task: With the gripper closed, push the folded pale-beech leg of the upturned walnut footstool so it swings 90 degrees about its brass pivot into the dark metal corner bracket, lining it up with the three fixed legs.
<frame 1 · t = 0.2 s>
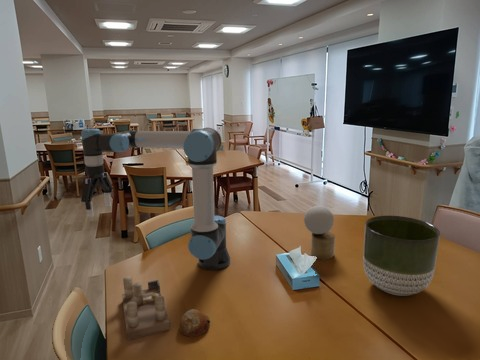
hand: (99, 211, 155), 28 cm above the table, fingers open, 13 cm apart
stool seat: (144, 314, 126), on the table
hinged leg: (146, 292, 128), point 7 cm above the table, hinge at 90.0°
lamp: (318, 254, 173), on the table
planter: (394, 288, 141), on the table
bread roll: (195, 328, 119), on the table
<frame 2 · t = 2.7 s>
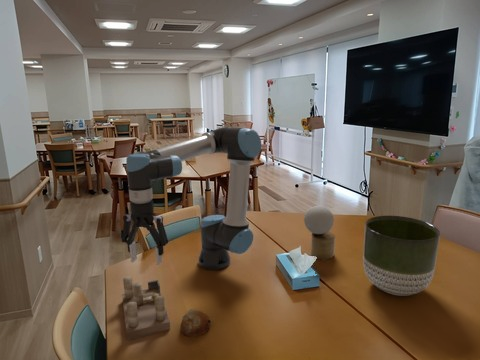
hand: (146, 261, 120), 21 cm above the table, fingers open, 9 cm apart
nothing on the table moved.
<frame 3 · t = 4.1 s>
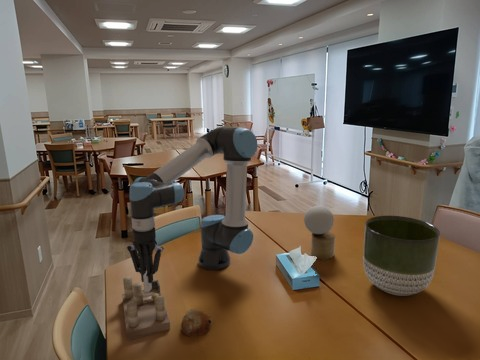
hand: (148, 290, 123), 11 cm above the table, fingers closed
nothing on the table moved.
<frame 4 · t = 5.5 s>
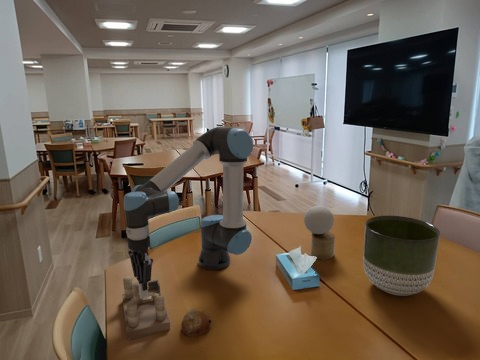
hand: (144, 296, 125), 7 cm above the table, fingers closed
hinged leg: (146, 291, 128), point 7 cm above the table, hinge at 85.3°, touching gripper
everything else where it was.
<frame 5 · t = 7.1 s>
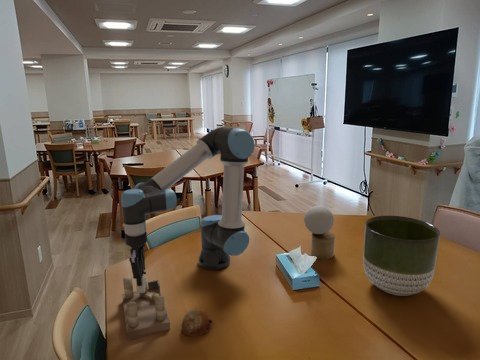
hand: (141, 291, 129), 7 cm above the table, fingers closed
hinged leg: (148, 288, 131), point 7 cm above the table, hinge at 38.3°, touching gripper
everything else where it was.
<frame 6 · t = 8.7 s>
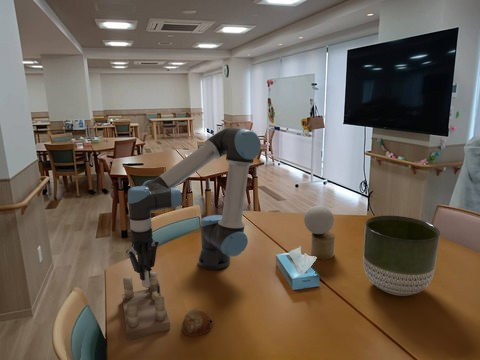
hand: (145, 286, 132), 7 cm above the table, fingers closed
hinged leg: (154, 286, 132), point 7 cm above the table, hinge at -3.6°, touching gripper
everything else where it was.
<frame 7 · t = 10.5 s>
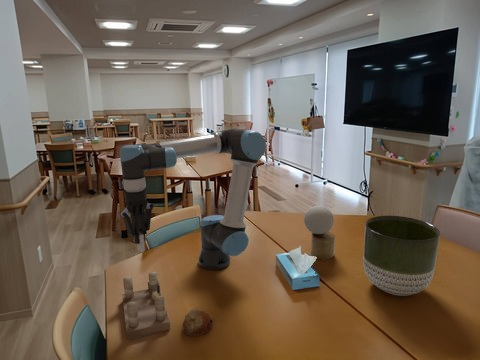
hand: (141, 250, 127), 22 cm above the table, fingers closed
hinged leg: (154, 286, 132), point 7 cm above the table, hinge at -3.6°
everything else where it was.
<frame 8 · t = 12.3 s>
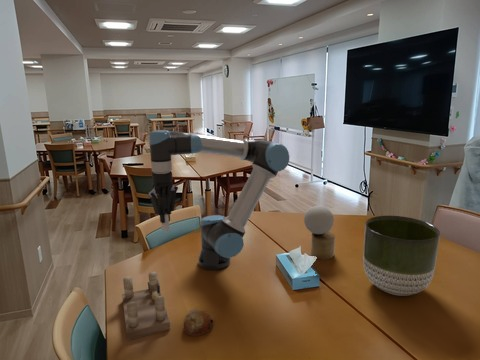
hand: (165, 229, 136), 26 cm above the table, fingers closed
at the end: hinged leg at -4° (first picture: +90°) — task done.
